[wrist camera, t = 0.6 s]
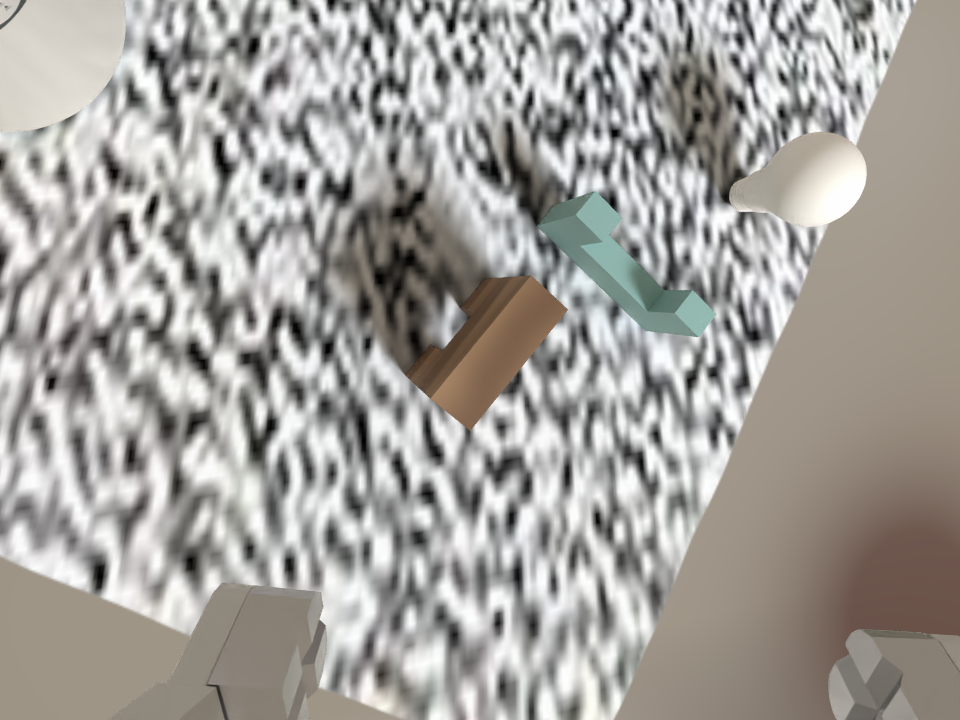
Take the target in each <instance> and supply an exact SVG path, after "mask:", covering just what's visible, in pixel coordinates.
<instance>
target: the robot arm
mask: <svg viewBox="0 0 960 720" xmlns="http://www.w3.org/2000/svg"><path fill="white" fill-rule="evenodd" d="M125 33H126V10H125V3H124V0H0V132H21V131H28V130H34V129H38V128H42V127H46V126H49V125H52V124H55V123H57V122H60V121H62V120H64V119H66V118H68V117H70V116H72V115H74V114H75V113H77V112H79V111H80V110H81V109H83V108H84V107H85V106H87V105H88V104H89V103H90V102H91V101H93V100H94V99H95V98H96V97H97V96H98V95H99V93H100V92H101V91H102V90H103V89H104V87H105V86H106V85H107V83H108V82H109V80H110V79H111V77H112V75H113V73H114V71H115V69H116V67H117V65H118V63H119V60H120V57H121V54H122V50H123V46H124V41H125ZM322 609H323V601H322V596H321V592H315V591H305V590H295V589H285V588H275V587H264V586H255V585H242V584H230V583H222V584H221V585H220V586H219V587H218V588H217V589H216V590H215V591H214V592H213V594H212V596H211V598H210V600H209V602H208V604H207V606H206V608H205V610H204V612H203V614H202V616H201V617H200V619H199V621H198V623H197V625H196V627H195V629H194V631H193V633H192V635H191V637H190V639H189V641H188V643H187V645H186V647H185V649H184V650H183V652H182V655H181V656H180V658H179V660H178V662H177V664H176V666H175V668H174V670H173V672H172V674H171V676H170V678H169V680H168V682H167V683H160V682H159V683H158V682H157V683H155V684H154V685H153V686H151V687H150V688H149V689H148V690H146V691H145V692H144V693H142V694H141V695H140V696H139V697H137V698H136V699H135V700H133V701H132V702H131V703H130V704H128V705H127V706H126V707H125V708H123V709H122V710H121V711H119V712H118V713H117V714H116V715H114V716H113V717H112V718H111V719H109V720H309V712H308V705H307V699H308V698H309V697H310V696H311V695H312V694H313V693H314V692H315V691H316V690H317V689H318V687H319V683H320V680H321V676H322V672H323V667H324V661H325V655H326V645H327V633H326V625H325V624H324V623H323V622H321V621H320V620H319V619H320V616H321V612H322ZM845 645H846V647H847V649H848V651H849V652H850V654H849V655H848V656H846V657H844V658H842V659H841V660H839V661H837V662H836V663H835V665H834V667H833V669H832V671H831V673H830V676H829V698H830V702H831V706H832V710H833V713H834V715H835V717H836V720H960V636H951V635H935V634H924V633H918V632H901V631H882V630H865V629H859V630H857V631H855V632H853V633H851V634H850V637H849V638H848V640H847V642H846V643H845Z"/></svg>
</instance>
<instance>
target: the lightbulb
mask: <svg viewBox="0 0 960 720" xmlns="http://www.w3.org/2000/svg"><path fill="white" fill-rule="evenodd" d="M866 174H867V172H866V164H865V160H864V158H863V156H862V154H861V152H860V151H859V149H858V148H857V147H856V146H855V145H854V144H853V143H852V142H851V141H849V140H847V139H846V138H844V137H842V136H840V135H837V134H834V133H827V132H815V133H809V134H805V135H802V136H800V137H797V138H795V139H793V140H792V141H790V142H789V143H787V144H786V145H784V146H783V147H782V148H781V149H780V150H779V151H778V152H777V153H776V154H775V156H774V157H773V158H772V159H771V161H770V162H769V164H768V165H767V166H766V167H765V168H763V169H761V170H759V171H756V172H754V173H753V174H751V175H750V176H749V177H746V178H743V179H741V180H739V181H737V182H735V183H734V184H733V185H732V187H731V189H730V193H729V200H730V203H731V205H732V206H733V208H734V209H736V210H737V211H740V212H751V211H755V212H758V213H767V212H769V213H774V214H775V215H776V216H778V217H779V218H781V219H783V220H785V221H786V222H788V223H790V224H794V225H798V226H804V227H813V226H819V225H824V224H827V223H829V222H832V221H834V220H836V219H838V218H839V217H841V216H843V215H844V214H845V213H846V212H848V211H849V210H850V209H851V208H852V207H853V205H854V204H855V203H856V202H857V200H858V199H859V197H860V196H861V193H862V191H863V189H864V186H865V182H866Z"/></svg>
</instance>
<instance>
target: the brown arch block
mask: <svg viewBox="0 0 960 720" xmlns="http://www.w3.org/2000/svg"><path fill="white" fill-rule="evenodd" d="M460 309H461V310H463V311H464V312H465V313H466V314H467V315H468V316H469V317H470V318H469V319H468V321H467V322H466V323H465V324H464V325H463V327H462V328H461V329H460V330H459V331H458V333H457V334H456V335H455V336H454V338H453V339H452V340H451V341H450V342H449V344H448V345H447V346H446V347H445V348H444V350H443V351H442V350H440V349H438V348H436V347H434V346H432V345H430V346H429V347H428V348H427V349H426V350H425V352H424V353H423V354H422V355H421V356H420V358H419V359H418V360H417V361H416V363H415V364H414V365H413V366H412V367H411V369H410V370H409V371H408V372H407V373H406V375H405V376H407V377H408V378H409V379H410V380H411V381H412V382H413V383H414V384H415V385H416V386H417V387H418V388H420V389H421V390H422V391H423V392H424V393H425V394H426V395H427V396H428V397H429V398H430V399H432V400H433V401H434V402H435V403H437V404H438V405H439V406H440V407H442V408H443V409H444V410H445V411H446V412H448V413H449V414H450V415H451V416H453V417H454V418H455V419H456V420H458V421H459V422H460V423H461V424H463V425H464V426H465V427H466V428H468V429H469V430H471V429H472V428H473V427H474V425H475V424H476V423H477V422H478V420H479V419H480V418H481V417H482V416H483V414H484V413H485V412H486V411H487V409H488V408H489V407H490V406H491V404H492V403H493V402H494V401H495V399H496V398H497V397H498V396H499V394H500V393H501V392H502V391H503V389H504V388H505V387H506V386H507V385H508V383H509V382H510V381H511V380H512V378H513V377H514V376H515V375H516V373H517V372H518V371H519V370H520V368H521V367H522V366H523V365H524V363H525V362H526V361H527V360H528V359H529V357H530V356H531V355H532V354H533V352H534V351H535V350H536V349H537V347H538V346H539V345H540V344H541V342H542V341H543V340H544V339H545V337H546V336H547V335H548V334H549V333H550V331H551V330H552V329H553V328H554V326H555V325H556V324H557V323H558V321H559V320H560V319H561V318H562V316H563V315H564V314H565V313H566V311H567V310H568V309H567V308H565V307H564V306H563V305H562V304H561V303H560V302H559V301H558V300H557V299H556V298H555V297H554V296H553V295H552V294H550V293H549V292H548V291H547V290H546V289H545V288H544V287H543V286H542V285H541V284H540V283H539V282H538V281H536V280H535V279H534V278H533V277H532V276H518V277H503V278H488V279H484V280H483V281H482V283H481V284H480V285H479V286H478V287H477V289H476V290H475V291H474V292H473V294H472V295H471V296H470V297H469V298H468V300H467V301H466V302H465V303H464V304H463V306H462V307H461V308H460Z"/></svg>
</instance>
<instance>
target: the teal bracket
mask: <svg viewBox="0 0 960 720" xmlns="http://www.w3.org/2000/svg"><path fill="white" fill-rule="evenodd" d="M621 219H622V218H621V217H620V216H619V215H618V213H617V212H616V211H615V210H614V209H613V208H612V207H611V206H610V205H609V204H608V203H607V202H606V201H605V200H604V199H603V198H602V197H601V196H600V195H599V194H598V193H597V192H596V191H594V192H591V193H588V194H585V195H582V196H580V197H577V198H574V199H571V200H568V201H565V202H562V203H560V204H557V205H554V206H553V207H552V208H551V210H550V211H549V212H548V213H547V215H546V216H545V217H544V218H543V219H542V221H541V222H540V223H539V224H538V225H537V227H539V228H540V229H541V230H542V231H543V232H544V233H545V234H546V235H547V236H548V237H549V238H550V239H551V240H552V241H553V242H554V243H555V244H556V245H557V246H558V247H559V248H560V249H561V250H562V251H563V252H564V253H565V254H567V255H568V256H569V257H570V258H571V259H572V260H573V261H574V262H575V263H576V264H577V265H578V266H579V267H580V268H581V269H582V270H583V271H584V272H585V273H586V274H587V275H588V276H589V277H590V278H591V279H592V280H593V281H595V282H596V283H597V284H598V285H599V286H600V287H601V288H602V289H603V290H604V291H605V292H606V293H607V294H608V295H609V296H610V297H611V298H612V299H613V300H614V301H615V302H616V303H617V304H618V305H619V306H620V307H621V308H623V309H624V310H625V311H626V312H627V313H628V314H629V315H630V316H631V317H632V318H633V319H634V320H635V321H636V322H637V323H638V324H639V325H640V326H641V327H642V328H643V329H644V330H645V331H652V332H660V333H669V334H677V335H685V336H693V337H699V336H700V335H701V333H702V332H703V331H704V330H705V328H706V327H707V326H708V324H709V323H710V322H711V321H712V319H713V318H714V317H715V316H716V314H715V313H714V312H713V311H712V310H711V308H710V307H709V306H708V305H707V304H706V303H705V302H704V301H703V300H702V299H701V298H700V297H699V296H698V295H697V294H696V293H695V292H694V291H693V290H664V289H663V288H662V287H661V286H660V285H659V284H658V283H657V282H656V281H655V280H654V279H653V278H652V277H651V276H650V275H649V274H648V273H647V272H646V271H645V270H644V269H643V268H642V267H641V266H640V265H639V264H638V263H637V262H636V261H635V260H634V259H633V258H632V257H631V256H630V255H629V254H628V253H627V252H626V251H625V250H624V249H623V248H622V247H621V246H620V245H619V244H618V243H617V242H616V241H615V240H614V239H613V238H612V237H611V236H610V235H609V234H610V233H611V231H612V230H613V229H614V228H615V227H616V225H617V224H618V223H619V222H620V220H621Z"/></svg>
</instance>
